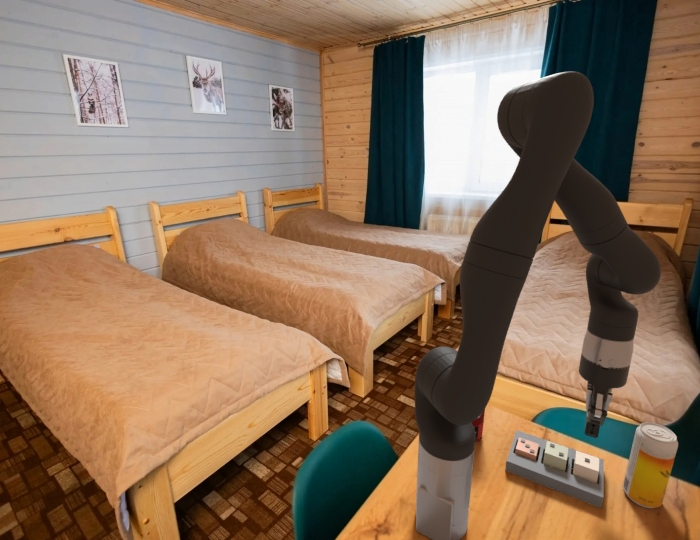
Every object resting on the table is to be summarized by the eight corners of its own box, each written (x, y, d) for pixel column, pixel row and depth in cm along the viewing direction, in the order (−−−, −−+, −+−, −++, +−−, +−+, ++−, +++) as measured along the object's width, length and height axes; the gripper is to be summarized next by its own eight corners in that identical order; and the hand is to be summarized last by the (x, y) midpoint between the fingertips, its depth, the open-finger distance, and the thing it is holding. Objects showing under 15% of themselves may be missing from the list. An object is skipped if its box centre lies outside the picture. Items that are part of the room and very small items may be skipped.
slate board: (601, 508, 71) (603, 497, 70) (505, 470, 80) (506, 460, 79) (601, 469, 80) (603, 459, 79) (515, 438, 89) (516, 429, 88)
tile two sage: (564, 471, 77) (567, 459, 76) (542, 463, 79) (544, 451, 78) (566, 458, 80) (568, 447, 79) (545, 451, 82) (547, 439, 81)
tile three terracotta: (534, 466, 80) (536, 455, 79) (514, 459, 82) (515, 447, 81) (537, 454, 83) (539, 443, 82) (517, 447, 85) (519, 436, 84)
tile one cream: (596, 483, 74) (599, 470, 73) (572, 474, 76) (575, 462, 75) (596, 469, 77) (599, 457, 76) (574, 461, 79) (576, 449, 78)
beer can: (668, 513, 70) (687, 445, 65) (631, 508, 71) (647, 441, 67) (650, 486, 75) (667, 422, 71) (616, 481, 77) (630, 418, 72)
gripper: (583, 336, 77) (570, 409, 82) (580, 366, 66) (566, 448, 71) (628, 345, 73) (612, 421, 78) (633, 378, 62) (615, 464, 67)
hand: (590, 434), depth 74 cm, fingers closed
